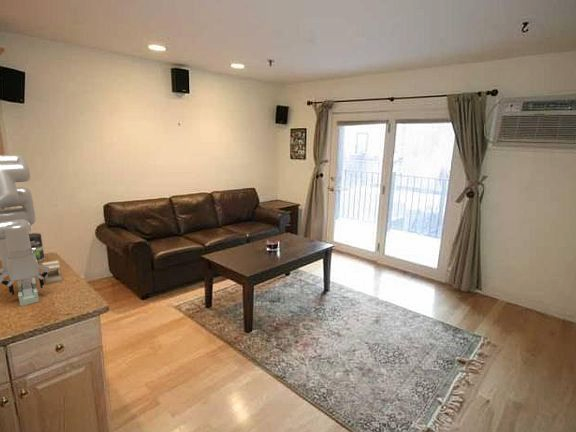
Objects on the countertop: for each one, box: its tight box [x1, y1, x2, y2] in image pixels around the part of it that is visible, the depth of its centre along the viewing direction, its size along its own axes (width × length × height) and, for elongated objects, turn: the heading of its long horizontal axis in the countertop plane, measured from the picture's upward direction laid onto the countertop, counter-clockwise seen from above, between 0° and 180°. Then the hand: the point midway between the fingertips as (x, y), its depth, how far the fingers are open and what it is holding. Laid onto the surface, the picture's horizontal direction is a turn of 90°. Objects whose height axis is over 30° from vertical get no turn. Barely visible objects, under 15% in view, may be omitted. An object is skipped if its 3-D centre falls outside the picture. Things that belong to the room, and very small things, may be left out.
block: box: [41, 259, 63, 285], centre depth 158 cm, size 10×6×8 cm, turn 40°
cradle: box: [16, 277, 40, 307], centre depth 142 cm, size 18×6×4 cm, turn 40°
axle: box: [21, 278, 33, 297], centre depth 143 cm, size 16×3×3 cm, turn 40°
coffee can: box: [29, 232, 46, 263], centre depth 179 cm, size 10×10×14 cm
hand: (27, 290), depth 140 cm, fingers open, 9 cm apart
